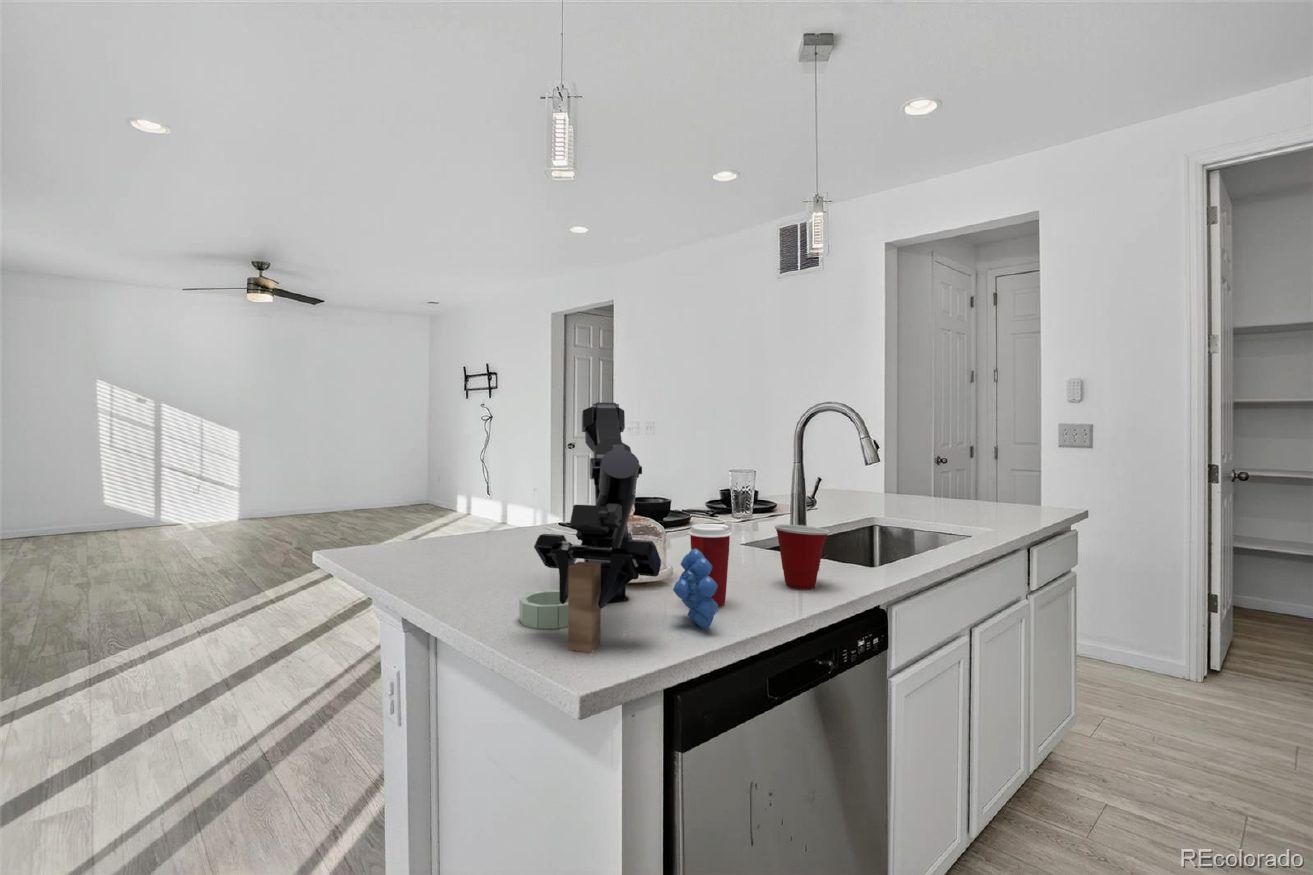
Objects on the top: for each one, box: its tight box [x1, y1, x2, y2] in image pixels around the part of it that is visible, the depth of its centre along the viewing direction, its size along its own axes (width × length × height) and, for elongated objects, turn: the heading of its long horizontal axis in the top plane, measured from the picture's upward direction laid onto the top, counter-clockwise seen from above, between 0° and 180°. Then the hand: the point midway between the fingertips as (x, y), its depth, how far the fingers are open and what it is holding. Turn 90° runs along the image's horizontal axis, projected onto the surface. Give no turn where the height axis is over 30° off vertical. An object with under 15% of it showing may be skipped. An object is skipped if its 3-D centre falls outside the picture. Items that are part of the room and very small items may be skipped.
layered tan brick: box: [567, 561, 602, 654], centre depth 94 cm, size 4×4×12 cm
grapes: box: [672, 549, 719, 629], centre depth 105 cm, size 12×7×12 cm, turn 19°
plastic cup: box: [774, 523, 830, 591], centre depth 130 cm, size 11×11×12 cm
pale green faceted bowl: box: [518, 589, 568, 630], centre depth 108 cm, size 10×10×4 cm
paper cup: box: [687, 523, 733, 609], centre depth 117 cm, size 8×8×14 cm
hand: (580, 604), depth 93 cm, fingers open, 6 cm apart
